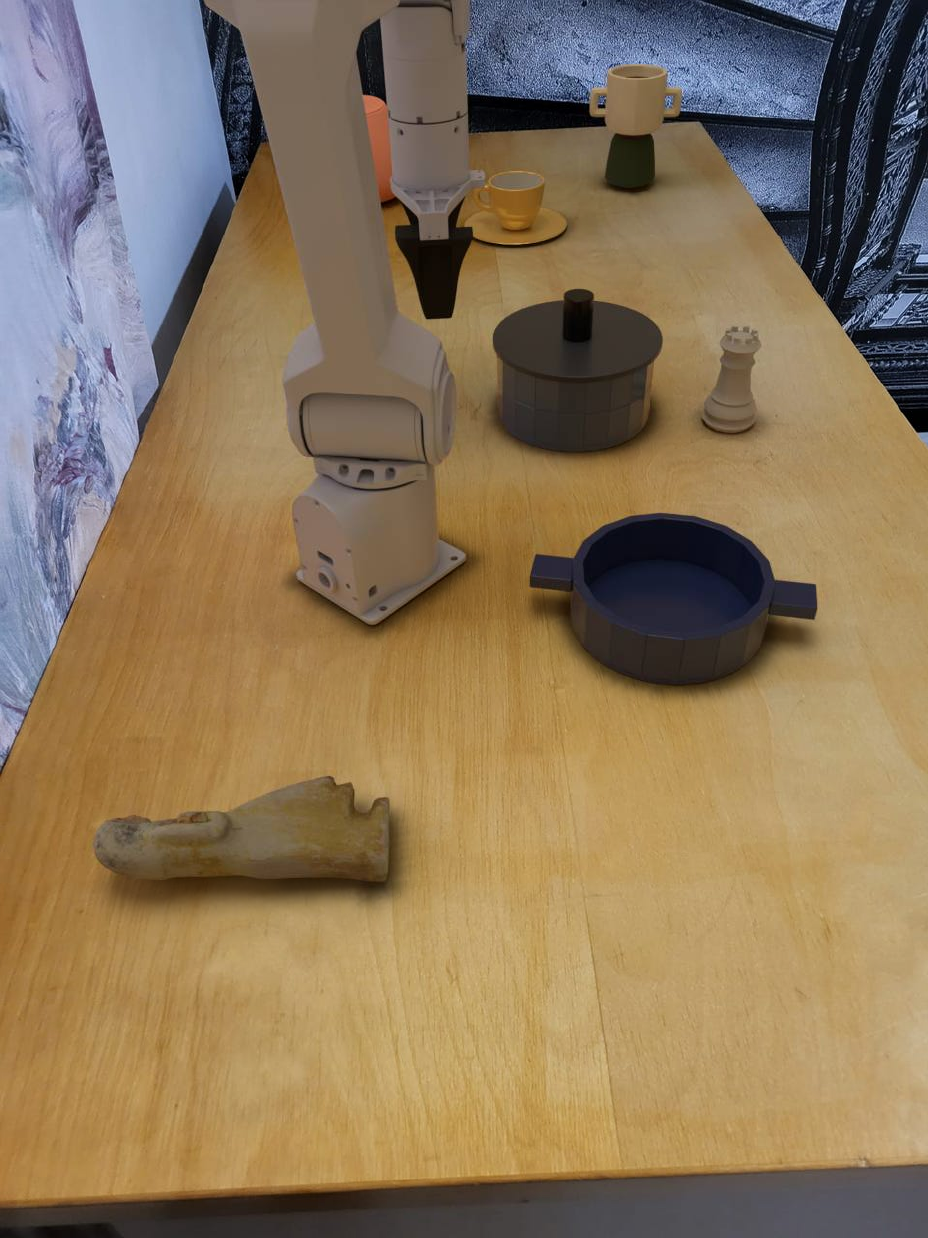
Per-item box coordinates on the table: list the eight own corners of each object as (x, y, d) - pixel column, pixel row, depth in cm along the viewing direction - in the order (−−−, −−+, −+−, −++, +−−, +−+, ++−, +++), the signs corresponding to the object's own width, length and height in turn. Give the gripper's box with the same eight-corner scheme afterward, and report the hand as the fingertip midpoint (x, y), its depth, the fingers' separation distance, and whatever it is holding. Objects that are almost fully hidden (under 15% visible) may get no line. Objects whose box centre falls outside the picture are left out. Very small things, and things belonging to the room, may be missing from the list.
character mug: (672, 174, 130) (683, 62, 121) (673, 194, 125) (685, 78, 116) (587, 174, 131) (592, 63, 122) (585, 193, 126) (590, 78, 117)
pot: (586, 470, 80) (591, 397, 76) (467, 417, 86) (465, 347, 82) (677, 406, 87) (685, 335, 82) (560, 361, 93) (562, 294, 89)
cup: (574, 212, 121) (576, 165, 118) (556, 250, 113) (557, 201, 109) (478, 206, 124) (476, 160, 120) (453, 244, 115) (451, 195, 112)
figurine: (389, 764, 55) (103, 762, 53) (394, 810, 50) (79, 810, 48) (385, 848, 56) (107, 850, 54) (390, 902, 51) (84, 906, 49)
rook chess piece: (716, 402, 87) (730, 314, 82) (764, 417, 85) (781, 328, 79) (690, 423, 84) (702, 335, 79) (739, 440, 82) (754, 350, 77)
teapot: (300, 166, 137) (286, 66, 129) (410, 159, 138) (403, 59, 130) (294, 225, 121) (278, 115, 113) (419, 217, 122) (412, 107, 113)
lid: (654, 396, 76) (660, 340, 73) (477, 382, 79) (475, 327, 76) (667, 316, 86) (672, 264, 83) (509, 306, 89) (509, 255, 86)
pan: (810, 703, 60) (823, 656, 58) (515, 665, 64) (515, 619, 61) (804, 572, 69) (815, 527, 67) (546, 545, 73) (547, 500, 70)
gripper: (490, 141, 66) (493, 334, 75) (478, 82, 77) (482, 257, 86) (382, 146, 66) (398, 338, 75) (386, 86, 77) (400, 261, 86)
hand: (437, 295), depth 81 cm, fingers open, 7 cm apart
